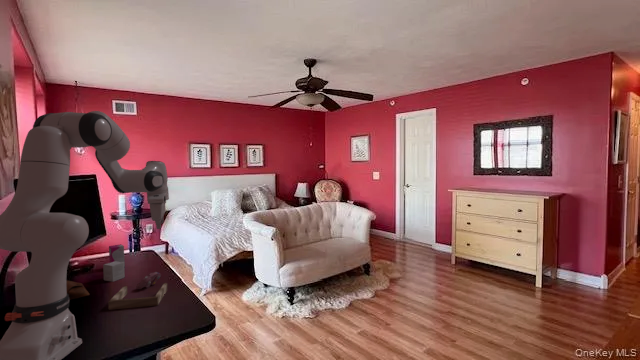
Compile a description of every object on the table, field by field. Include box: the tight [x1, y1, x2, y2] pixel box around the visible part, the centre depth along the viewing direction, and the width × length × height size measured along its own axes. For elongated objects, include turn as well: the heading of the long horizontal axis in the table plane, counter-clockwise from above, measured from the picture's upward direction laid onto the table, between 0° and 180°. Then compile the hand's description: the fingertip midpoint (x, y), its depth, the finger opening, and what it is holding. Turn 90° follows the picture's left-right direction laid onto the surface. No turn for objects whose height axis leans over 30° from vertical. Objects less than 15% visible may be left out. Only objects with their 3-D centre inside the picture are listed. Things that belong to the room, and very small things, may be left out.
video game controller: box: [135, 271, 162, 290], centre depth 143 cm, size 10×5×7 cm, turn 169°
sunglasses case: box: [66, 280, 90, 301], centre depth 136 cm, size 18×7×7 cm
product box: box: [102, 261, 125, 282], centre depth 152 cm, size 6×6×7 cm
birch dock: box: [107, 282, 168, 311], centre depth 129 cm, size 16×16×3 cm
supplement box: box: [108, 244, 126, 269], centre depth 168 cm, size 6×6×12 cm
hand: (160, 225), depth 151 cm, fingers open, 8 cm apart
